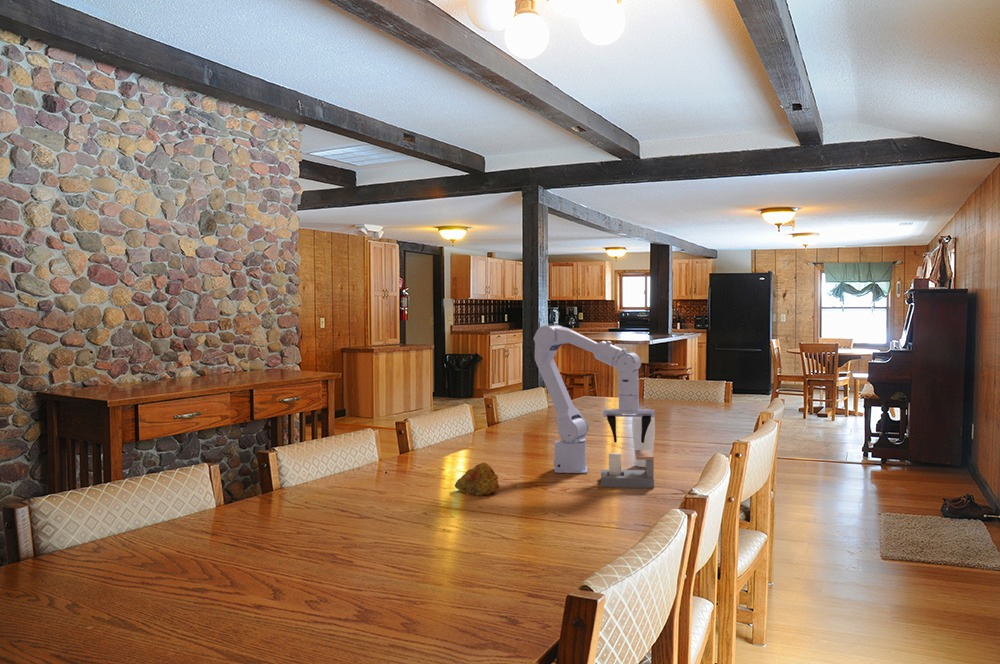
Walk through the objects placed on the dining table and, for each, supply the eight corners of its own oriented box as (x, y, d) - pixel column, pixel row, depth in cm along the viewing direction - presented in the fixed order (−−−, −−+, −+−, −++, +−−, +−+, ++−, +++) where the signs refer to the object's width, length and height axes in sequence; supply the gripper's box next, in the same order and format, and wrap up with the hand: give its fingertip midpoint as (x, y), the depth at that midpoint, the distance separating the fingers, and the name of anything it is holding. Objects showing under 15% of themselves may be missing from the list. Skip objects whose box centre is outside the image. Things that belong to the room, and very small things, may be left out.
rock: (466, 511, 189) (446, 480, 193) (482, 508, 196) (463, 478, 200) (494, 485, 186) (474, 454, 190) (510, 483, 193) (490, 453, 197)
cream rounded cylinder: (653, 463, 224) (653, 415, 224) (656, 468, 218) (656, 418, 217) (631, 463, 225) (631, 415, 224) (633, 468, 218) (633, 418, 218)
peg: (620, 484, 199) (620, 455, 198) (608, 484, 199) (608, 455, 199) (621, 481, 202) (621, 453, 202) (609, 481, 203) (609, 452, 202)
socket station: (601, 486, 196) (600, 456, 196) (601, 478, 206) (600, 449, 206) (653, 488, 194) (653, 457, 194) (651, 479, 204) (651, 449, 204)
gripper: (603, 396, 204) (603, 444, 205) (655, 396, 202) (655, 444, 203) (602, 393, 211) (603, 439, 212) (653, 393, 209) (653, 440, 210)
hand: (628, 442), depth 208 cm, fingers open, 7 cm apart
